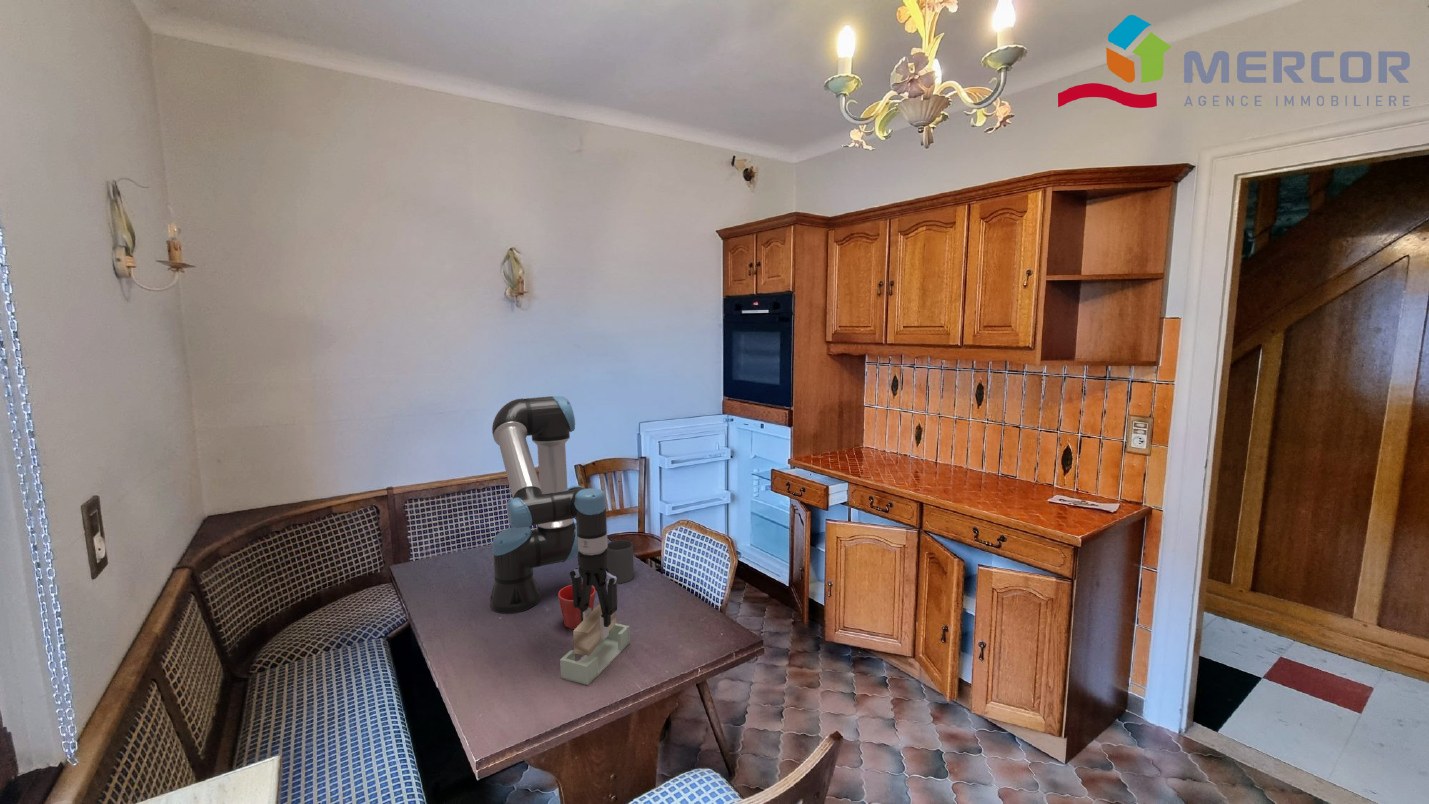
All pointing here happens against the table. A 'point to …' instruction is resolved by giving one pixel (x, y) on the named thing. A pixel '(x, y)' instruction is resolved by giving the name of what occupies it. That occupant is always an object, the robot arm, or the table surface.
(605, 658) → the green tray
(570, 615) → the flower pot
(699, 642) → the table surface
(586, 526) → the robot arm
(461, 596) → the table surface
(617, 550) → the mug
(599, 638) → the wooden block
